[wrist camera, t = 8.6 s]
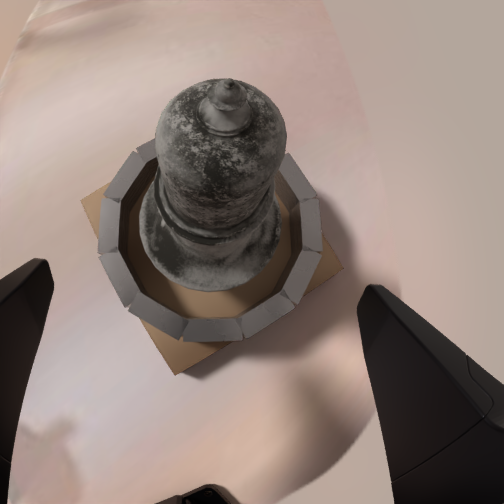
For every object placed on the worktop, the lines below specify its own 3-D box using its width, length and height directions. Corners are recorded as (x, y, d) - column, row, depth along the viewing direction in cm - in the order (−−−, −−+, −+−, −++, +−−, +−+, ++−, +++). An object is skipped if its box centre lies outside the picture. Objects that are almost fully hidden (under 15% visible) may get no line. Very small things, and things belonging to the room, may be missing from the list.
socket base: (334, 270, 18) (360, 263, 15) (176, 371, 16) (171, 385, 13) (241, 125, 19) (248, 95, 16) (87, 206, 17) (67, 187, 13)
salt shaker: (277, 203, 17) (397, 46, 5) (247, 309, 16) (367, 318, 4) (174, 170, 17) (150, -25, 5) (136, 274, 15) (-4, 197, 4)
